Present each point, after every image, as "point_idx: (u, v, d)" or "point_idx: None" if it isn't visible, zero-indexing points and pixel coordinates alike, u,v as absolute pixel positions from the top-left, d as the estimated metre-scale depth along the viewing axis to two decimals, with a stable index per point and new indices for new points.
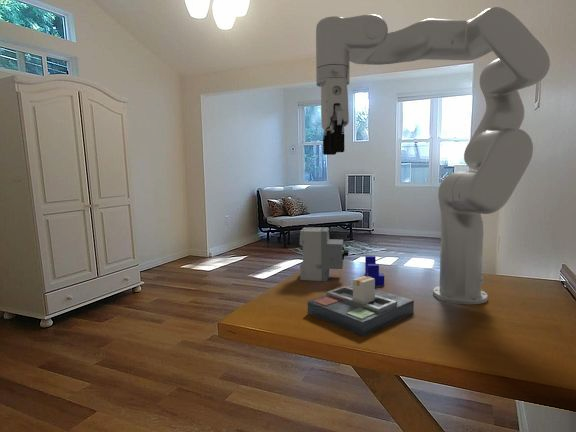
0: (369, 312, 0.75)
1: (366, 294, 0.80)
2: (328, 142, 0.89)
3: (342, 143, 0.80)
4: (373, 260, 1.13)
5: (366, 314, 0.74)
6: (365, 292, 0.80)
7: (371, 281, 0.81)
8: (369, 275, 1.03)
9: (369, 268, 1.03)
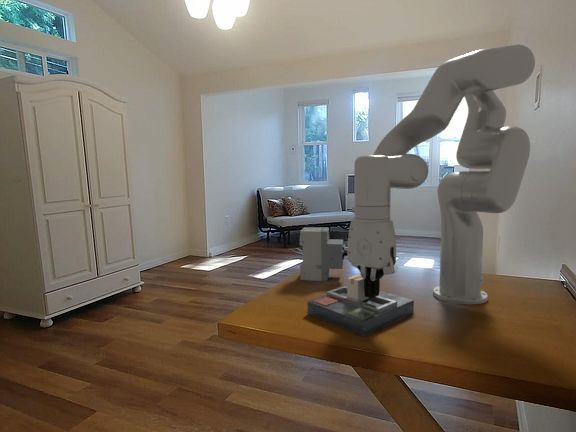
0: (369, 312, 0.75)
1: (360, 292, 0.81)
2: None
3: None
4: None
5: (366, 314, 0.74)
6: (359, 290, 0.81)
7: None
8: None
9: None
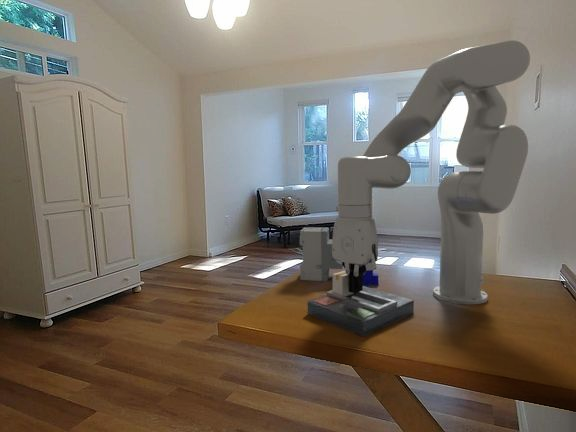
0: (369, 312, 0.75)
1: (344, 287, 0.85)
2: None
3: None
4: None
5: (366, 314, 0.74)
6: (343, 286, 0.84)
7: None
8: (363, 275, 1.04)
9: None
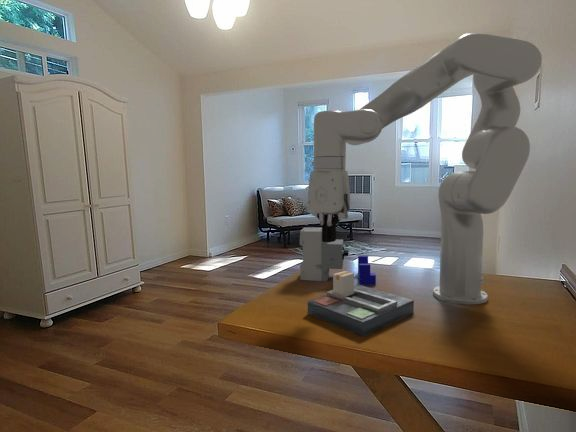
0: (369, 312, 0.75)
1: (345, 287, 0.85)
2: None
3: None
4: (365, 259, 1.14)
5: (366, 314, 0.74)
6: (344, 286, 0.84)
7: (350, 276, 0.86)
8: (361, 274, 1.04)
9: (361, 267, 1.04)
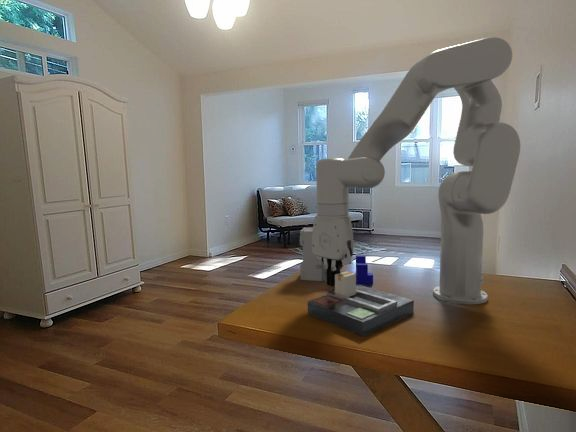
0: (369, 312, 0.75)
1: (347, 288, 0.84)
2: None
3: None
4: (363, 259, 1.14)
5: (366, 314, 0.74)
6: (346, 287, 0.84)
7: (352, 276, 0.85)
8: (358, 274, 1.04)
9: (358, 267, 1.04)
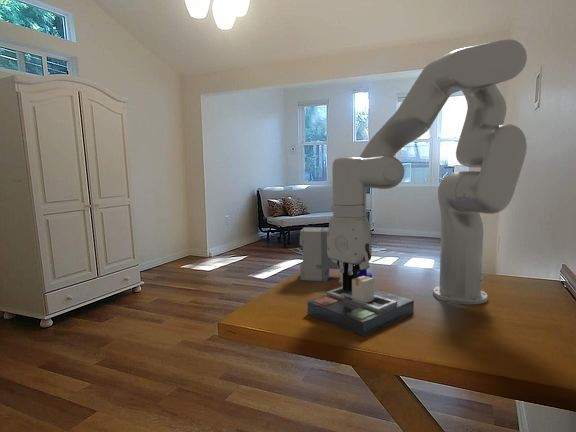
0: (369, 312, 0.75)
1: (365, 293, 0.80)
2: None
3: None
4: None
5: (366, 314, 0.74)
6: (364, 292, 0.80)
7: (370, 281, 0.81)
8: (357, 274, 1.04)
9: None
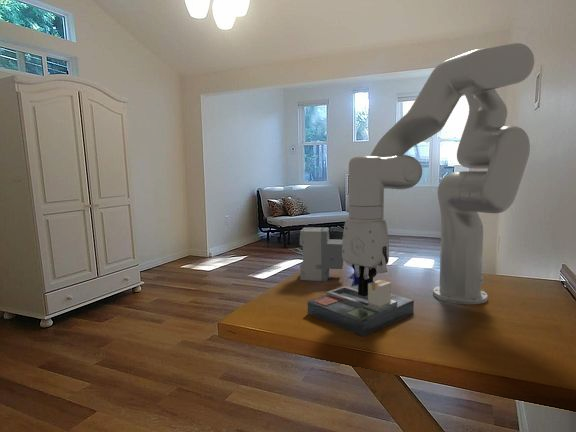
0: (369, 312, 0.75)
1: (382, 298, 0.77)
2: None
3: None
4: None
5: (366, 314, 0.74)
6: (381, 297, 0.77)
7: (387, 285, 0.78)
8: None
9: None
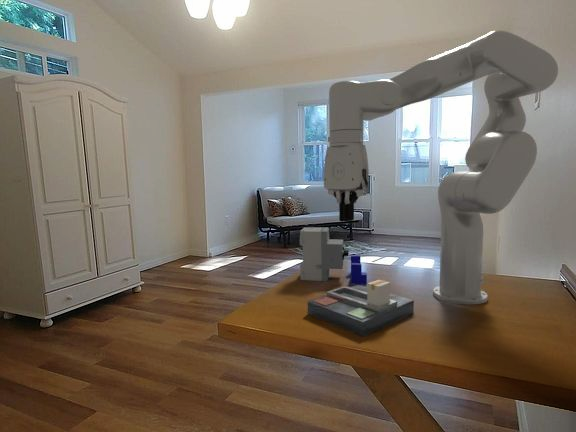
0: (369, 312, 0.75)
1: (381, 298, 0.77)
2: None
3: None
4: (358, 259, 1.15)
5: (366, 314, 0.74)
6: (380, 297, 0.77)
7: (386, 285, 0.78)
8: (352, 274, 1.05)
9: (352, 267, 1.05)
